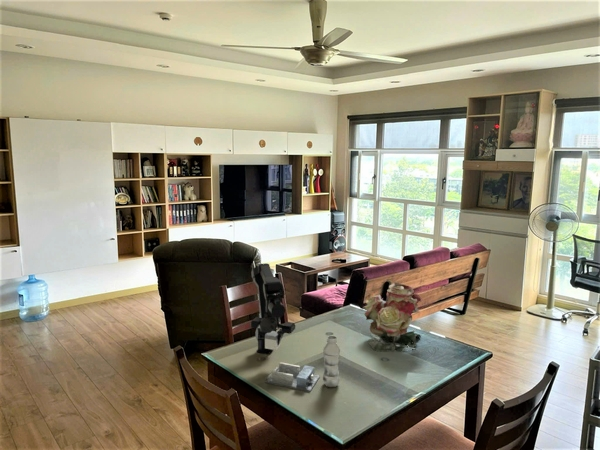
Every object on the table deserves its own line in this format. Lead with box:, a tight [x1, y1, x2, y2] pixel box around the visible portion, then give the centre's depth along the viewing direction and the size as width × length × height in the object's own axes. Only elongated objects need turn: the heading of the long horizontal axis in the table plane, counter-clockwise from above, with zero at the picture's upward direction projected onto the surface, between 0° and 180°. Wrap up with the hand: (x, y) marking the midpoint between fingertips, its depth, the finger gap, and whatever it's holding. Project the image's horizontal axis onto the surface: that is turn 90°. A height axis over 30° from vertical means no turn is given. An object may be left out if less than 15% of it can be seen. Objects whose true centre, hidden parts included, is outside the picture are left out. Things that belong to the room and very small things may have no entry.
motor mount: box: [265, 361, 321, 393], centre depth 177 cm, size 19×12×5 cm, turn 70°
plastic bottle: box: [322, 335, 341, 388], centre depth 172 cm, size 6×7×20 cm
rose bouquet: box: [362, 282, 423, 353], centre depth 210 cm, size 26×29×30 cm
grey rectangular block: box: [265, 331, 281, 351], centre depth 187 cm, size 5×5×6 cm
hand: (272, 344), depth 187 cm, fingers closed on grey rectangular block, 5 cm apart
